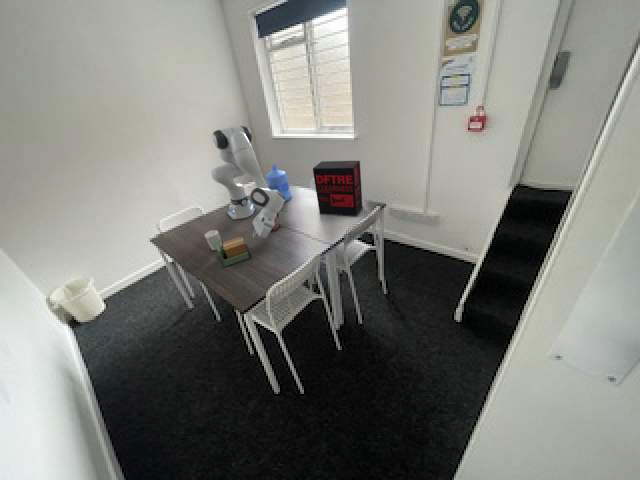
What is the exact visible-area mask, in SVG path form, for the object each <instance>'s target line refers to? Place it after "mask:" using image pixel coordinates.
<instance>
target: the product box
mask: <svg viewBox="0 0 640 480" xmlns="http://www.w3.org/2000/svg"><path fill="white" fill-rule="evenodd" d="M312 173H313V174H312V175H313V179H314V186H315V193H316V199H317V205H318V211H319V214H320V215H334V216H346V217H358V215H359V214H360V212H361V210H362V208H363V194H362V193H363V191H362V176H361V175H362V174H361V160H331V161H330V160H327V161H326V160H324V161H323V160H322V161H320V162H319V163H317V164H316V165H315V166H314V167H312Z"/></svg>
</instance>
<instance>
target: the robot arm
mask: <svg viewBox="0 0 640 480" xmlns="http://www.w3.org/2000/svg"><path fill="white" fill-rule="evenodd" d="M252 141H253V136H252V132H251V130H250V129H249V127H248V126H245V125H243V126H242V125H241V126H230V127H227V128H226V127H225V128H223V129H217V130H215V131H213V133H212V142H213V144H214V146H215V147H216V149H218V150H219V157H220V159H221V160H222V161H223V162H224V163H223V164H220V165H217V166H215V167H214V168H212V170H211V172H210V174H211V178H212V180H213V181H214V182H216V183H218V184H220V185H222V186H224V187H225V189H226V190H227V192H228V194H229V197H230V198H229V199H230V205H229V206H228V212H227V215H228V216H229V217H230V218H231V219H232V220H238V219H239V220H241V219H245V218H249V217H251V216H252V215H253V214H254V213H255V210H256V209H255V207H254V205H256V206H259V207H261V209H260V211H259V213H258V214H256V216H255V217H254V219H253V220H252V222H251V224H252V225H253V228H254V230H253V233H252V238H253V239H254V240H256V239H257V238H258V237H259V238H261V239H262V240H265V239H266V238H267V237H268V236H269V235H270V233H271V232H272V231H271V227H272V228H273V227H274V225H275V224H274V219H275V217H276V214H277V213H279V212H280V211H281V209H282V208H283V206H284V203H285V202H286V201H285V197H284V196H283V194H282V193H280V192H279V191H278V190H271V189H270V188H269V185H268V182H267V180H266V179H265V176H264V174H263V172H262V170H261V167H260V165H259V162H258V160H257V157H256V154H255V151H254V149H253V146H252V144H251V143H252ZM246 174H248V175H249V176H250V177H251V178H252V181H253V182H254V184H255V187H256V188H254V189H252V190H251V192H250V196H249V197H250V199H249V197H248V194H247V193H246V189H245V187H244V185H243V184H242V183H240V182H237V181H236V182H235V180H234V179H237V178H240V177H243V176H244V175H246ZM284 201H285V202H284Z"/></svg>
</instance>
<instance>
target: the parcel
mask: <svg viewBox="0 0 640 480" xmlns="http://www.w3.org/2000/svg"><path fill="white" fill-rule="evenodd" d="M222 245H223V246H222V248H224V250H225V253H226V254H225V255H226V259H228V258H231V257H234V256H237V255H240V254H242V253H245V252H248V250H247V246H246V244H245V241H244V238H243V236H239V237H236V238H233V239H229V240H227V241H223V242H222Z"/></svg>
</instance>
